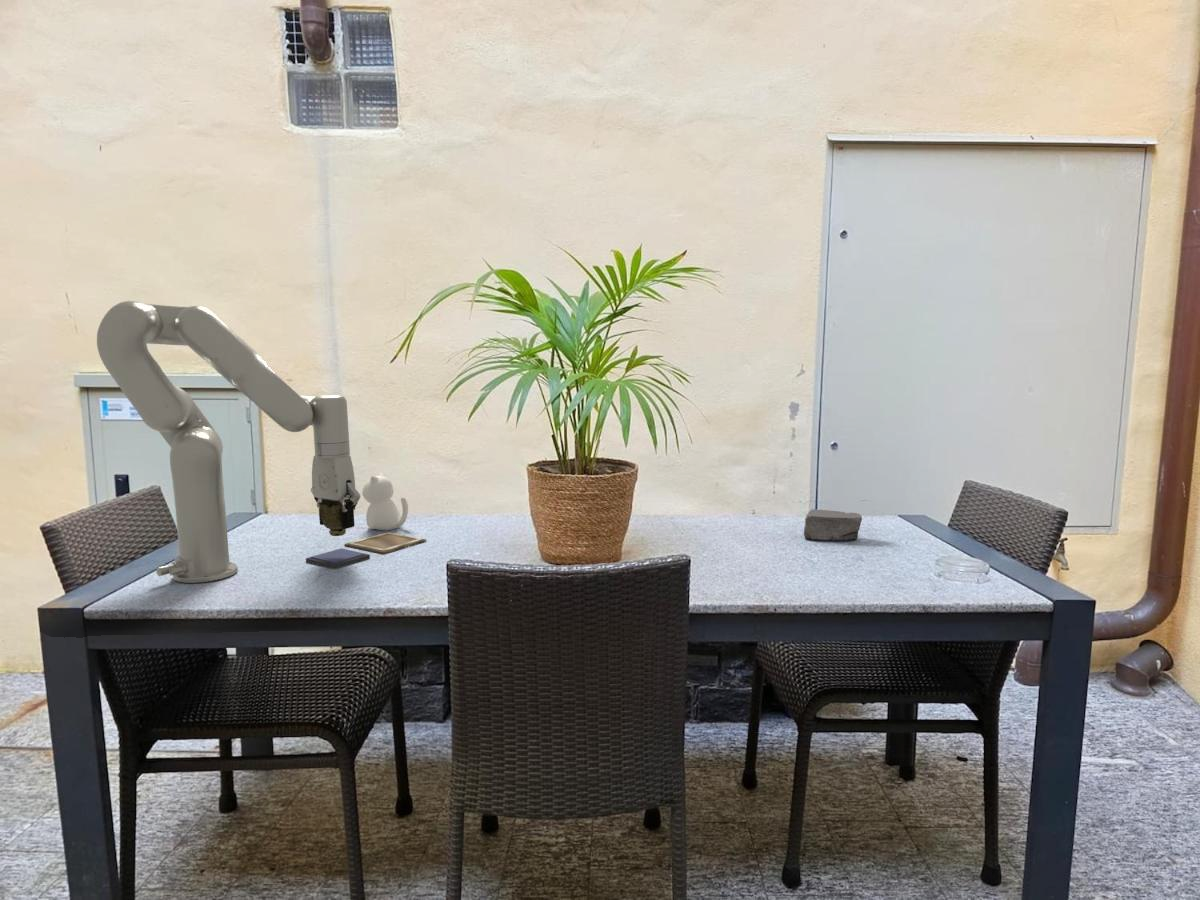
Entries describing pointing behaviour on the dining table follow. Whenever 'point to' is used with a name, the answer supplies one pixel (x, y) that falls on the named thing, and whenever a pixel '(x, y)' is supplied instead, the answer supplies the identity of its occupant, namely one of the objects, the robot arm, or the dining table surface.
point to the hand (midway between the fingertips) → (337, 525)
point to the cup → (332, 517)
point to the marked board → (385, 542)
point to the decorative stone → (831, 526)
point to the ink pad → (337, 558)
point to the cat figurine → (383, 504)
